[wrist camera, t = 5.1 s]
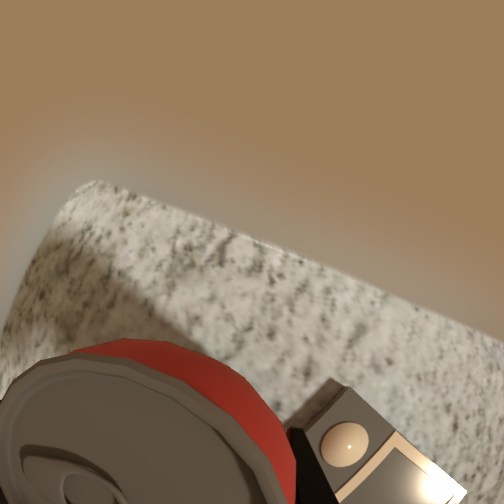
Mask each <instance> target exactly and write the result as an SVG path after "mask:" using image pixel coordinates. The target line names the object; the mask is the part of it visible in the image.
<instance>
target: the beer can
mask: <svg viewBox="0 0 504 504" xmlns="http://www.w3.org/2000/svg"><path fill="white" fill-rule="evenodd" d="M0 486H1V489H2V491H3V493H4V495H5V498H6V500H7V502H8V504H295V499H296V459H295V457H294V454H293V452H292V449H291V446H290V444H289V441H288V439H287V436H286V433H285V431H284V428H283V425H282V423H281V421H280V420H279V419H278V417H277V416H276V415H275V414H274V413H273V411H272V410H271V409H270V408H269V407H268V405H267V404H266V403H265V402H264V400H263V399H262V398H261V397H260V395H259V394H258V393H257V392H256V390H255V389H254V388H253V387H252V385H251V384H250V383H249V382H248V381H247V380H246V379H245V378H244V377H243V376H241V375H240V374H239V373H237V372H236V371H234V370H233V369H231V368H230V367H229V366H227V365H225V364H223V363H221V362H219V361H217V360H215V359H213V358H211V357H208V356H205V355H202V354H199V353H197V352H194V351H191V350H188V349H186V348H183V347H180V346H178V345H175V344H173V343H170V342H166V341H150V340H137V339H126V338H124V339H120V340H116V341H112V342H108V343H104V344H100V345H96V346H91V347H87V348H83V349H79V350H74V351H73V352H71V353H70V354H67V355H63V356H58V357H53V358H49V359H44V360H40V361H38V362H37V363H36V364H34V365H33V366H32V367H30V368H29V369H28V370H26V371H25V372H24V373H22V374H21V375H19V376H18V377H17V378H15V379H14V380H13V381H12V382H11V384H10V386H9V388H8V389H7V391H6V393H5V395H4V397H3V399H2V400H1V402H0Z"/></svg>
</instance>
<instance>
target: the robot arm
mask: <svg viewBox="0 0 504 504" xmlns="http://www.w3.org/2000/svg"><path fill="white" fill-rule="evenodd" d="M0 402H1V400H0ZM286 436H287V439H288V441H289V444H290V446H291V449H292V452H293V454H294V457H295V459H296V499H295V504H339V502H338V500H337V498H336V496H335V494H334V492H333V490H332V488H331V486H330V484H329V482H328V480H327V478H326V475H325V473H324V471H323V469H322V467H321V465H320V463H319V461H318V459H317V457H316V455H315V453H314V451H313V448H312V446H311V444H310V442H309V440H308V438H307V436H306V434H305V432H304V430H303V429H302V428H300V427H293V426H291V427H289V429H288V430H287V432H286ZM0 504H8V502H7V500H6V498H5V495H4V493H3V491H2V489H1V486H0Z"/></svg>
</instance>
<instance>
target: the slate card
mask: <svg viewBox="0 0 504 504" xmlns="http://www.w3.org/2000/svg"><path fill="white" fill-rule="evenodd" d="M303 430H304V432H305V434H306V436H307V438H308V440H309V442H310V444H311V446H312V448H313V451H314V453H315V455H316V457H317V459H318V461H319V463H320V465H321V467H322V469H323V471H324V473H325V475H326V478H327V480H328V482H329V484H330V486H331V488H332V490H333V492H334V494H335V496H336V498H337V500H338V502H339V504H458V503H459V502H460V501H461V500H462V498H463V497H464V496H465V495H466V493H467V491H466V490H465V489H463V488H462V487H461V486H460V485H459V484H457V483H456V482H455V481H454V480H453V479H452V478H450V477H449V476H448V475H447V474H446V473H445V472H443V471H442V470H441V469H440V468H439V467H438V466H437V465H435V464H434V463H433V462H432V461H431V460H430V459H429V458H427V457H426V456H425V455H424V454H423V453H422V452H421V451H419V450H418V449H417V448H416V447H415V446H414V445H413V444H412V443H410V442H409V441H408V440H407V439H406V438H405V437H404V436H403V435H402V434H400V433H399V432H398V431H397V430H396V429H395V428H394V427H393V426H392V425H391V424H389V423H388V422H387V421H386V420H385V419H384V418H383V417H382V416H381V415H380V414H379V413H377V412H376V411H375V410H374V409H373V408H372V407H371V406H370V405H369V404H368V403H367V402H366V401H365V400H363V399H362V398H361V397H360V396H359V395H358V394H357V393H356V392H355V391H354V390H353V389H352V388H351V387H347V386H344V387H343V388H342V389H341V390H340V391H339V393H338V394H337V395H336V396H335V397H334V398H333V399H332V400H331V401H330V402H329V403H328V404H327V405H326V406H325V407H324V408H323V409H322V411H321V412H320V413H319V414H318V415H317V416H316V417H315V418H314V419H313V420H312V421H311V422H310V423H308V424H307V425H306V426H305V427H304V428H303Z"/></svg>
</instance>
